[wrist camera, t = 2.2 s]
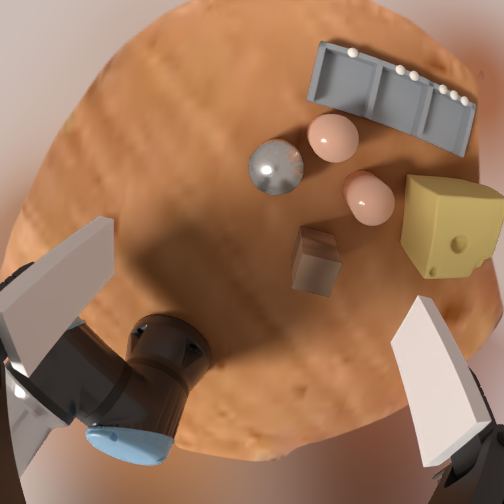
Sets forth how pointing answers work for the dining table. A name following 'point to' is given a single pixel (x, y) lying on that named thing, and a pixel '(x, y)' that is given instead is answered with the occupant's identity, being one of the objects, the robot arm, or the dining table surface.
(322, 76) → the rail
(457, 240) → the cheese
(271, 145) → the chrome metal ball
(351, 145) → the pale pink egg
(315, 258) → the walnut post
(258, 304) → the dining table surface
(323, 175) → the dining table surface
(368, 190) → the brown egg
